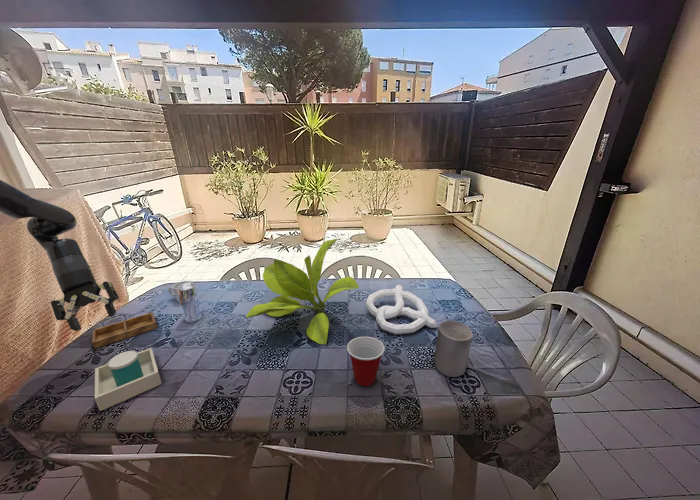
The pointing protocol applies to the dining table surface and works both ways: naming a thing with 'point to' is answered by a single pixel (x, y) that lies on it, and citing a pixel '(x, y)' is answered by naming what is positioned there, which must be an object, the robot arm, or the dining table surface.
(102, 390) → the shallow cream tray
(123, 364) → the container
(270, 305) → the artificial plant
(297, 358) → the dining table surface
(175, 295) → the cup
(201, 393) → the dining table surface
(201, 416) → the dining table surface
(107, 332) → the brown wooden divided tray
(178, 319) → the dining table surface
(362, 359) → the plastic cup
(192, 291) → the beer glass
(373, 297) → the pretzel
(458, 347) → the pillar candle
